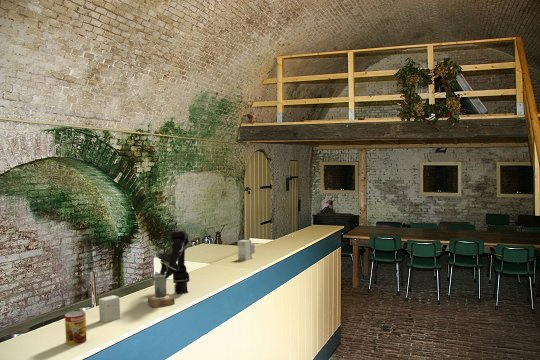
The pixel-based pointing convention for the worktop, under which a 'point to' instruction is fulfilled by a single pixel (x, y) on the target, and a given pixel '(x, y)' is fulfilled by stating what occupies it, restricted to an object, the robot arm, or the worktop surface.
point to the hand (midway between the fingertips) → (162, 277)
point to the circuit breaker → (245, 250)
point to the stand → (161, 301)
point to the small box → (109, 308)
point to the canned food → (75, 327)
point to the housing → (160, 286)
